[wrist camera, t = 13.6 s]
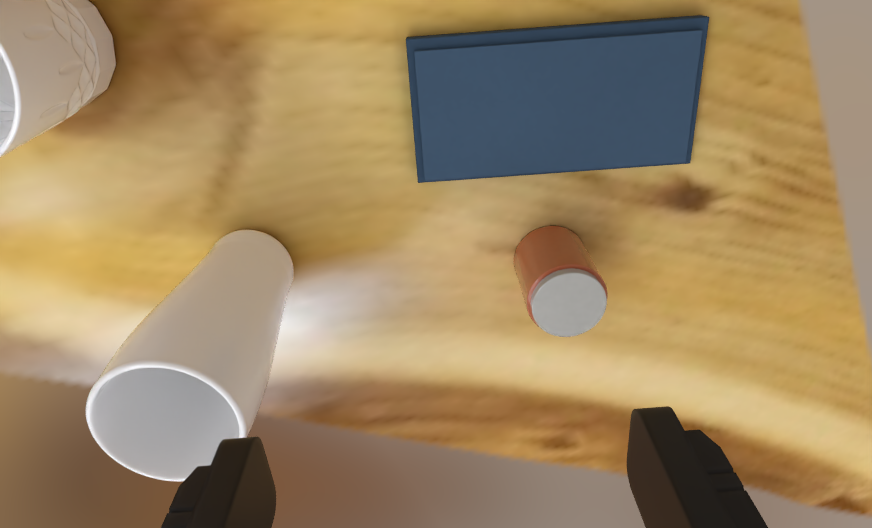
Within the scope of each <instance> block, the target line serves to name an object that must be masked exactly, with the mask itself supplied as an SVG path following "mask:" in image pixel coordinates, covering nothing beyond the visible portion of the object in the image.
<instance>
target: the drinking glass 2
mask: <svg viewBox="0 0 872 528" xmlns="http://www.w3.org/2000/svg"><path fill="white" fill-rule="evenodd" d="M293 276H294V268H293V263H292V259H291V257H290V255H289V253H288V251H287V250H286V248H285V247H284V246H283V245H282V244H281V243H280V242H279V241H278V240H276V239H275V238H274V237H272V236H270V235H268V234H266V233H263V232H260V231H256V230H238V231H234V232H231V233H229V234H227V235H225V236H223V237H222V238H220V239H219V240H218V241H217V242H216V243H215V244H214V245H213V247H212V248H211V250H210V251H209V252H208V254H207V255H206V256H205V257H204V258H203V259H202V260H201V261H200V262H199V263H198V264H197V265H196V267H195V268H194V269H193V270H192V271H191V272H190V273H189V274H188V275H187V276H186V277H185V278H184V279H183V280H182V281H181V282H180V283H179V284H178V285H177V286H176V287H175V288H174V289H173V290H172V291H171V292H170V293H169V294H168V295H167V296H166V297H165V298H164V299H163V300H162V301H161V302H160V303H159V304H158V305H157V306H156V307H155V308H154V309H153V310H152V311H151V312H150V313H149V314H148V315H147V316H146V317H145V318H144V319H143V320H142V321H141V323H140V324H139V325H138V326H137V327H136V328H135V329H134V330H133V332H132V333H131V334H130V335H129V336H128V338H127V339H126V340H125V341H124V343H123V344H122V345H121V347H120V348H119V349H118V351H117V352H116V353H115V355H114V356H113V357H112V359H111V360H110V362H109V363H108V365H107V366H106V368H105V369H104V371H103V372H102V374H101V375H100V377H99V378H98V380H97V381H96V383H95V384H94V386H93V387H92V389H91V391H90V393H89V395H88V399H87V403H86V419H87V423H88V427H89V429H90V432H91V434H92V436H93V437H94V439H95V440H96V442H97V443H98V445H99V446H100V447H101V448H102V449H103V450H104V451H105V452H106V453H107V454H108V455H109V456H110V457H111V458H112V459H114V460H115V461H117V462H118V463H119V464H121V465H122V466H124V467H126V468H128V469H130V470H132V471H134V472H136V473H139V474H142V475H144V476H147V477H151V478H155V479H160V480H167V481H185V480H186V478H187V477H188V476H189V475H190V474H191V473H192V472H193V471H194V470H195V468H196V467H197V466H208V465H211V463H212V461H213V458H214V456H215V453H216V451H217V448H218V446H219V444H220V442H221V441H222V440H224V439H233V438H246V437H248V435H249V433H250V430H251V428H252V426H253V423H254V421H255V418H256V416H257V413H258V411H259V408H260V405H261V402H262V399H263V396H264V393H265V390H266V387H267V383H268V379H269V375H270V371H271V367H272V362H273V357H274V353H275V348H276V344H277V339H278V334H279V330H280V325H281V321H282V316H283V312H284V308H285V303H286V299H287V295H288V292H289V290H290V287H291V284H292V281H293Z"/></svg>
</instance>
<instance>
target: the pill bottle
mask: <svg viewBox="0 0 872 528" xmlns="http://www.w3.org/2000/svg"><path fill="white" fill-rule="evenodd" d="M514 267H515V271H516V274H517V277H518V280H519V284H520V287H521V290H522V294H523V297H524V300H525V304H526V307H527V310H528V313H529V316H530V317H531V319H532V320H533V322H534V323H535V324H536V325H538V326H539V327H540V328H541V329H543V330H544V331H545V332H547V333H549V334H552V335H555V336H560V337H570V336H576V335H579V334H582V333H584V332H586V331H588V330H590V329H591V328H592V327H594V326H595V325H596V324H597V323H598V322H599V321H600V319H601V318H602V316H603V314H604V312H605V309H606V304H607V288H606V285H605V283H604V281H603V279H602V277H601V275H600V273H599V272H598V270H597V268H596V266H595V265H594V263H593V261H592V259H591V257H590V256H589V254H588V252H587V250H586V249H585V247H584V245H583V243H582V241H581V240H580V238H579V237H578V236H577V235H576V234H575V233H574V232H572V231H571V230H569V229H566V228H564V227H560V226H546V227H541V228H538V229H536V230H534V231H532V232H530V233H529V234H528V235H526V236H525V237H524V238H523V239H522V240H521V242H520V243H519V245H518V247H517V248H516V251H515V255H514Z"/></svg>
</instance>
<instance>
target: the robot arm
mask: <svg viewBox="0 0 872 528" xmlns="http://www.w3.org/2000/svg"><path fill="white" fill-rule="evenodd" d="M627 472H628V479H629V483H630V487H631V490H632V493H633V495H634V498H635V501H636V503H637V506H638V508H639V511H640V514H641V516H642V519H643V521H644V524H645V527H646V528H768V527H767V525H766V523H765V522H764V520H763V518H762V517H761V515H760V513H759V512H758V510H757V508H756V507H755V505H754V503H753V502H752V500H751V498H750V496H749V495H748V493H747V491H744V488H743V485H742V483H741V481H740V480H739V478H738V476H737V475H736V473H734V472H733V468H732V466H731V464H730V463H729V461H728V459H727V458H726V456H725V454H724V453H723V451H722V449H721V448H720V447H719V446H718V445H717V444H716V443H715V442H713V441H712V440H711V439H710V438H709V437H708V436H706V435H705V434H704V433H703V432H702V431H700V430H688V431H684V429H683V427H682V425H681V424H680V422H679V420H678V418H677V416H676V414H675V413H674V411H673V410H672V408H670V407H655V408H642V409H634V410H633V411H632V414H631V422H630V433H629V443H628V453H627ZM275 508H276V491H275V485H274V481H273V478H272V474H271V471H270V468H269V464H268V461H267V457H266V454H265V451H264V447H263V444H262V441H261V439H260V438H259V437H246V438H233V439H224V440H222V441H221V442H220V444H219V446H218V448H217V451H216V453H215V456H214V458H213V461H212V463H211V465H208V466H197V467H196V468H195V470H194V471H193V472H192V473H191V474H190V475H189V476H188V477H187V478H186V480H185V481H184V482H183V483H182V484H181V485H180V486H179V488H178V490H177V493H176V495H175V497H174V499H173V502H172V504H171V506H170V508H169V513H168V514H167V515H166V517H165V520H164V522H163V524H162V527H161V528H271V527H272V523H273V519H274V515H275Z"/></svg>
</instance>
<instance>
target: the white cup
mask: <svg viewBox="0 0 872 528" xmlns="http://www.w3.org/2000/svg"><path fill="white" fill-rule="evenodd" d="M115 67H116V59H115V52H114V44H113V37H112V34H111V32H110V31H109V29H108V27H107V25H106V24H105V22H104V20H103V18H102V17H101V15H100V13H99V12H98V10H97V8H96V7H95V6H94V5H93V4H92V3H91V2H89V1H88V0H0V158H1V157H2V156H4V155H6V154H7V153H9V152H11V151H13V150H14V149H16V148H18V147H20V146H21V145H23V144H25V143H27V142H28V141H30V140H32V139H34V138H36V137H37V136H39V135H41V134H43V133H45V132H46V131H48V130H50V129H51V128H53V127H55V126H56V125H58V124H59V123H61V122H63V121H64V120H65V119H67V118H69V117H70V116H72V115H73V114H75V113H76V112H78V111H79V109H80V108H82V107H84V106H86V105H88V104H89V103H90V102H91V101H93V100H94V99H95V98H97V97H98V96H99V95H100V94H102V93H103V92H104V91H106V90H107V89H108V86H109V83H110V81H111V78H112V75H113V72H114V69H115Z"/></svg>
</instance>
